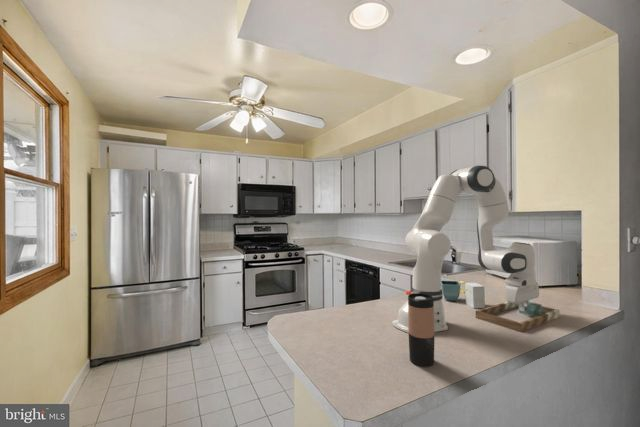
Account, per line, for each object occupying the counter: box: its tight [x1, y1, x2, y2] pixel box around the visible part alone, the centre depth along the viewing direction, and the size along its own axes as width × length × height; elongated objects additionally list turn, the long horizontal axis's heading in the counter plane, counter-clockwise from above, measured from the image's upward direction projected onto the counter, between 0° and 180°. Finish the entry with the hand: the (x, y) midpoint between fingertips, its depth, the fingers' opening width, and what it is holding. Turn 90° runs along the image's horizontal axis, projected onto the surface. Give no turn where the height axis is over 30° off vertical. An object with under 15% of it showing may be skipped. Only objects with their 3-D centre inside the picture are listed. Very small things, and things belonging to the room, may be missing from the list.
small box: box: [464, 282, 486, 309], centre depth 142 cm, size 8×6×10 cm
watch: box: [459, 280, 466, 293], centre depth 168 cm, size 6×3×6 cm, turn 20°
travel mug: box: [407, 293, 435, 368], centre depth 90 cm, size 8×8×20 cm
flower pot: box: [441, 280, 461, 302], centre depth 153 cm, size 9×9×9 cm
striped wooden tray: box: [475, 301, 560, 333], centre depth 126 cm, size 31×18×3 cm, turn 119°
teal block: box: [518, 300, 543, 318], centre depth 130 cm, size 6×6×4 cm
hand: (523, 310), depth 128 cm, fingers closed
